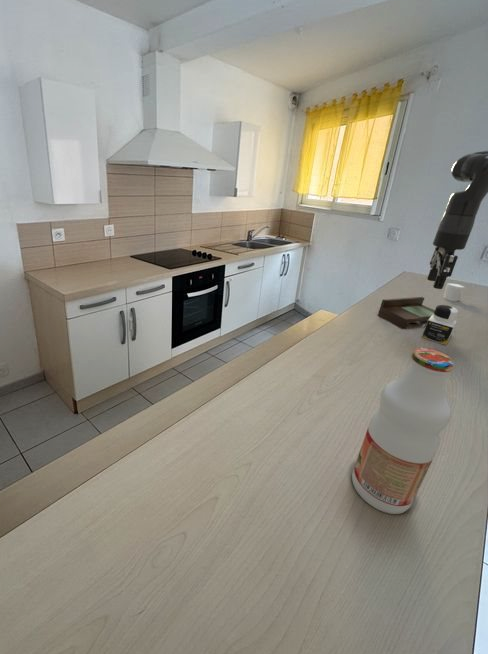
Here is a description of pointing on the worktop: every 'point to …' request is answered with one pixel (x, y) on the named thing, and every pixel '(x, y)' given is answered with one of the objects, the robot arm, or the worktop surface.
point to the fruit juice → (404, 433)
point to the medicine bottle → (441, 324)
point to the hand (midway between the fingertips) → (434, 284)
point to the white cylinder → (453, 291)
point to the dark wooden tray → (404, 311)
